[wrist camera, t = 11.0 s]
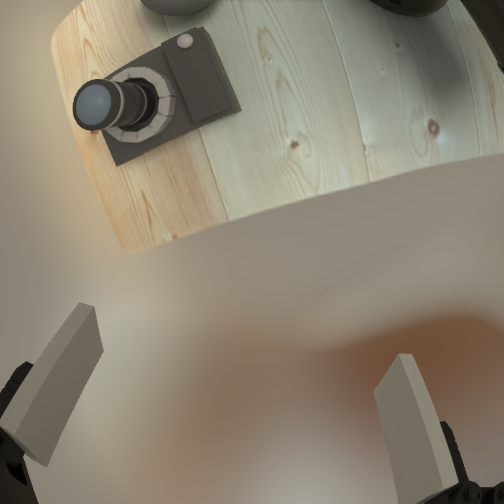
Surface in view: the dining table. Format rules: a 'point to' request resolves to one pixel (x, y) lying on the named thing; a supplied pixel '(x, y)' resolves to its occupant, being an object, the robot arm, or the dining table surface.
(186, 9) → the decorative stone
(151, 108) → the lens
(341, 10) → the dining table surface
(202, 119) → the camera body
